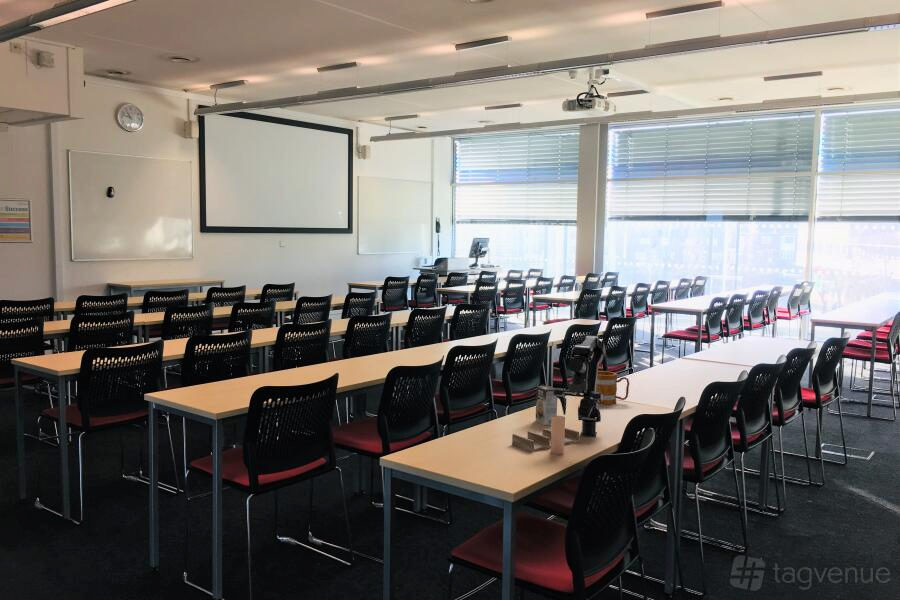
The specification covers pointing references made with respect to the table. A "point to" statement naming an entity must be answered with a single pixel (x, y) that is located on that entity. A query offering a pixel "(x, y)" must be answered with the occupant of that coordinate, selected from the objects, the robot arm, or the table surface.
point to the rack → (542, 439)
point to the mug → (609, 387)
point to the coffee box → (545, 404)
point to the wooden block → (557, 434)
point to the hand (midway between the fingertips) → (575, 416)
